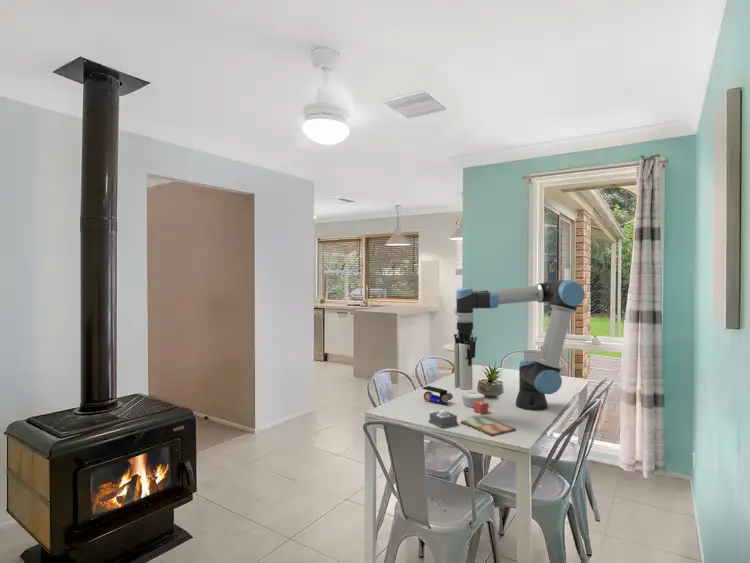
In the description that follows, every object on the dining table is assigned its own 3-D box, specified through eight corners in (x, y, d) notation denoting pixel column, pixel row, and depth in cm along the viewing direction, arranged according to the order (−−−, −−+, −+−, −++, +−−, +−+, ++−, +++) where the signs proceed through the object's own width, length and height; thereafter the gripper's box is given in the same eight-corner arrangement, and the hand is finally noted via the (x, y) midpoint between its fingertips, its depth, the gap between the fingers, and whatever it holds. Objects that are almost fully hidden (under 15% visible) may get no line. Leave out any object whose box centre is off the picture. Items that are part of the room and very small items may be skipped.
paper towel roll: (475, 388, 210) (474, 343, 210) (468, 391, 206) (467, 344, 206) (461, 386, 215) (461, 341, 215) (454, 388, 211) (454, 343, 211)
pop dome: (444, 417, 204) (444, 406, 204) (452, 421, 199) (452, 410, 199) (433, 419, 201) (433, 408, 201) (442, 423, 196) (442, 412, 196)
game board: (484, 418, 208) (484, 416, 208) (515, 430, 191) (515, 428, 191) (460, 423, 201) (460, 421, 201) (491, 436, 184) (491, 434, 184)
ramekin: (481, 402, 234) (481, 391, 234) (487, 408, 223) (487, 397, 223) (459, 402, 234) (459, 392, 234) (464, 408, 223) (464, 398, 223)
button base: (444, 418, 207) (444, 410, 207) (458, 424, 199) (458, 415, 199) (428, 422, 202) (428, 413, 202) (441, 428, 194) (441, 418, 194)
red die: (481, 410, 220) (481, 400, 220) (487, 412, 216) (487, 403, 216) (474, 411, 217) (474, 402, 217) (480, 414, 214) (480, 404, 213)
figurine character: (452, 406, 232) (427, 398, 241) (454, 391, 231) (428, 384, 241) (446, 409, 227) (420, 400, 236) (447, 394, 226) (421, 386, 235)
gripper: (447, 320, 215) (447, 369, 215) (470, 323, 201) (471, 376, 201) (459, 319, 219) (460, 367, 219) (483, 322, 204) (483, 374, 205)
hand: (465, 371), depth 210 cm, fingers closed on paper towel roll, 3 cm apart
